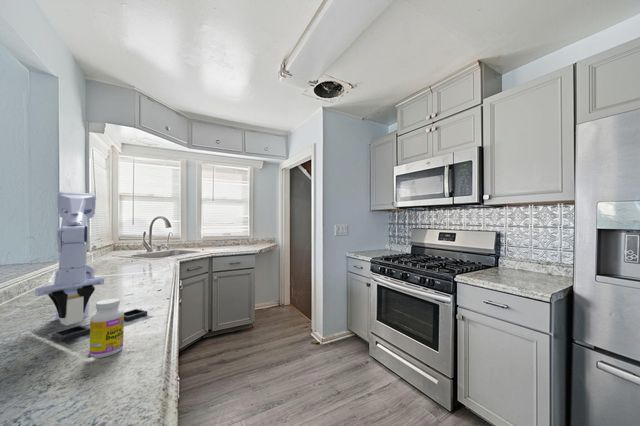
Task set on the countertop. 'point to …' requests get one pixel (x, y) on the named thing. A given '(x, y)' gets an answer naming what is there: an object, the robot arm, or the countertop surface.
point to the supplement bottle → (106, 329)
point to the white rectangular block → (73, 309)
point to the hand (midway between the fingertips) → (71, 315)
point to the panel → (83, 330)
